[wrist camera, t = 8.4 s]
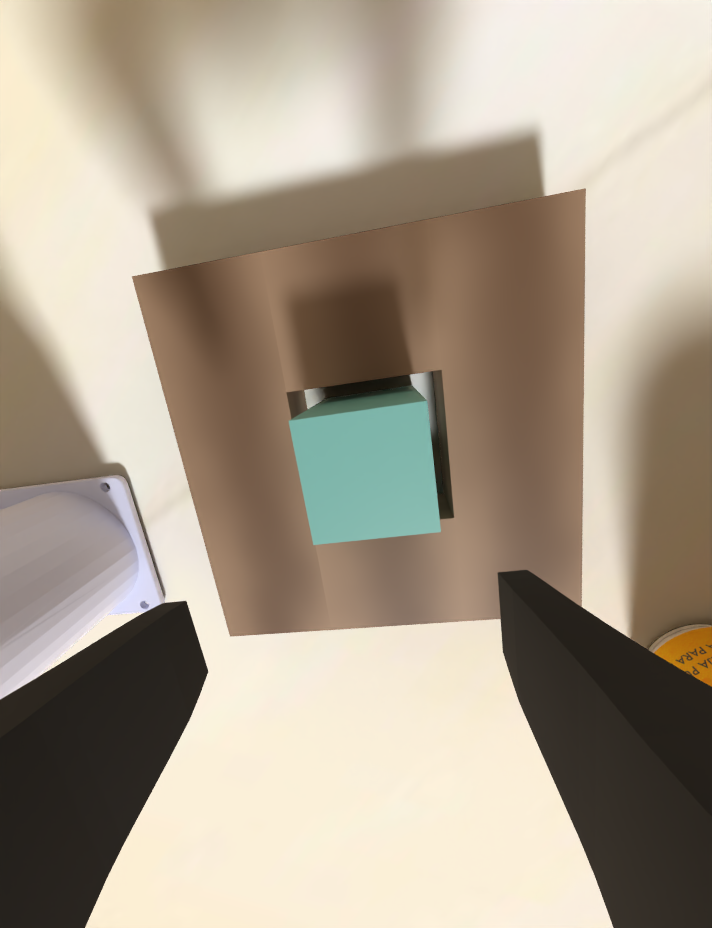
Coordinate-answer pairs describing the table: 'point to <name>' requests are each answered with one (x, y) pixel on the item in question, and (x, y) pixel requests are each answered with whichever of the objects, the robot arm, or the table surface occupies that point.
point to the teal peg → (367, 466)
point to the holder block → (375, 357)
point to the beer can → (688, 650)
